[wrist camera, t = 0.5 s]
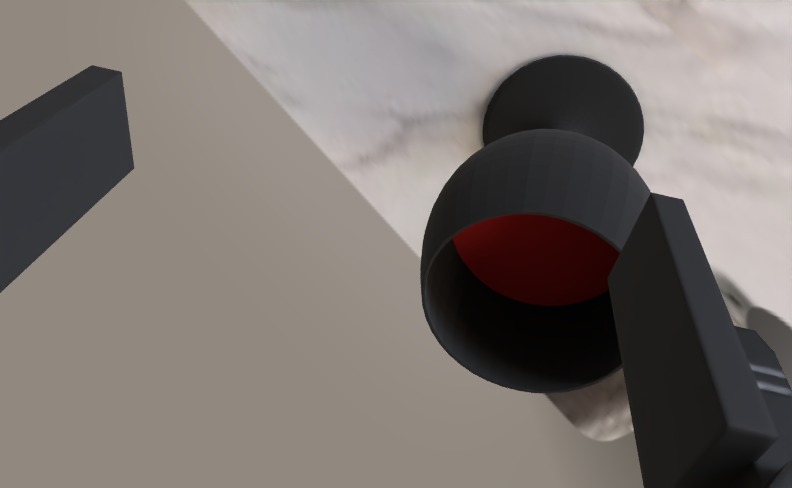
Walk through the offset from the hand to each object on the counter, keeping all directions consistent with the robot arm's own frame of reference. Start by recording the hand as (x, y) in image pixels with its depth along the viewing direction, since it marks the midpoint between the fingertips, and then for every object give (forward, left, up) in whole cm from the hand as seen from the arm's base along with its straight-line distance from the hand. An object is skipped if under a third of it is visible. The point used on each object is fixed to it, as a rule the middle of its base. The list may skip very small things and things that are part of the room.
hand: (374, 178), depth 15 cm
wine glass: (+7, +6, -26) cm, 28 cm away
